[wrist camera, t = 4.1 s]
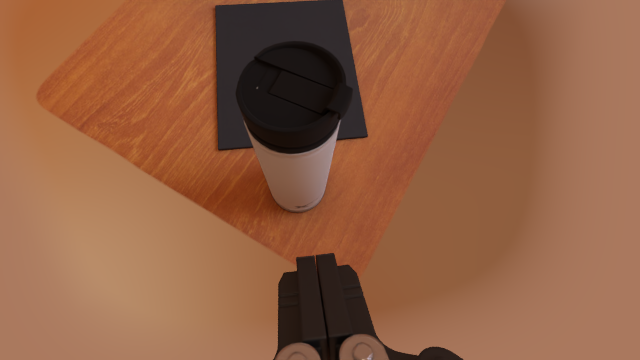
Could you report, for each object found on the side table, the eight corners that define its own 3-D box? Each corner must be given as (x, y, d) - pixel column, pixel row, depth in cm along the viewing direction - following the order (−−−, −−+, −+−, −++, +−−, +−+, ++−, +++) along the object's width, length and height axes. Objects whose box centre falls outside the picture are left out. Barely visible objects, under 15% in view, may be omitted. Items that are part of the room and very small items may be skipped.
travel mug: (313, 223, 34) (325, 151, 15) (261, 198, 34) (207, 99, 15) (336, 175, 36) (372, 57, 17) (285, 153, 36) (265, 14, 17)
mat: (367, 137, 37) (367, 135, 37) (218, 150, 36) (218, 149, 36) (341, 1, 44) (342, -1, 44) (216, 7, 43) (215, 5, 42)
